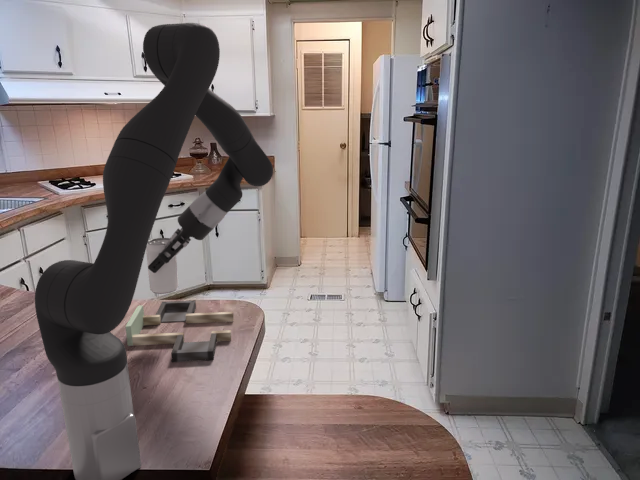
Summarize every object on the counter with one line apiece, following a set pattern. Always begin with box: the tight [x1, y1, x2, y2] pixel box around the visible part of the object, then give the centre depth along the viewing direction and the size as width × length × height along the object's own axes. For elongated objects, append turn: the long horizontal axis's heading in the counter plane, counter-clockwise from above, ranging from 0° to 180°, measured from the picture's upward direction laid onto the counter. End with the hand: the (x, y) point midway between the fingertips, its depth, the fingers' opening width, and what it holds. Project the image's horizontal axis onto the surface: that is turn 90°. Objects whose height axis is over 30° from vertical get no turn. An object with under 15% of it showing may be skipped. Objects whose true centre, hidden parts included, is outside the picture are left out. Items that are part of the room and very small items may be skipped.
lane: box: [126, 300, 235, 363], centre depth 112 cm, size 24×28×2 cm
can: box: [145, 237, 179, 295], centre depth 107 cm, size 6×6×12 cm
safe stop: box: [125, 304, 145, 347], centre depth 111 cm, size 1×11×5 cm, turn 7°
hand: (155, 264), depth 107 cm, fingers closed on can, 6 cm apart
